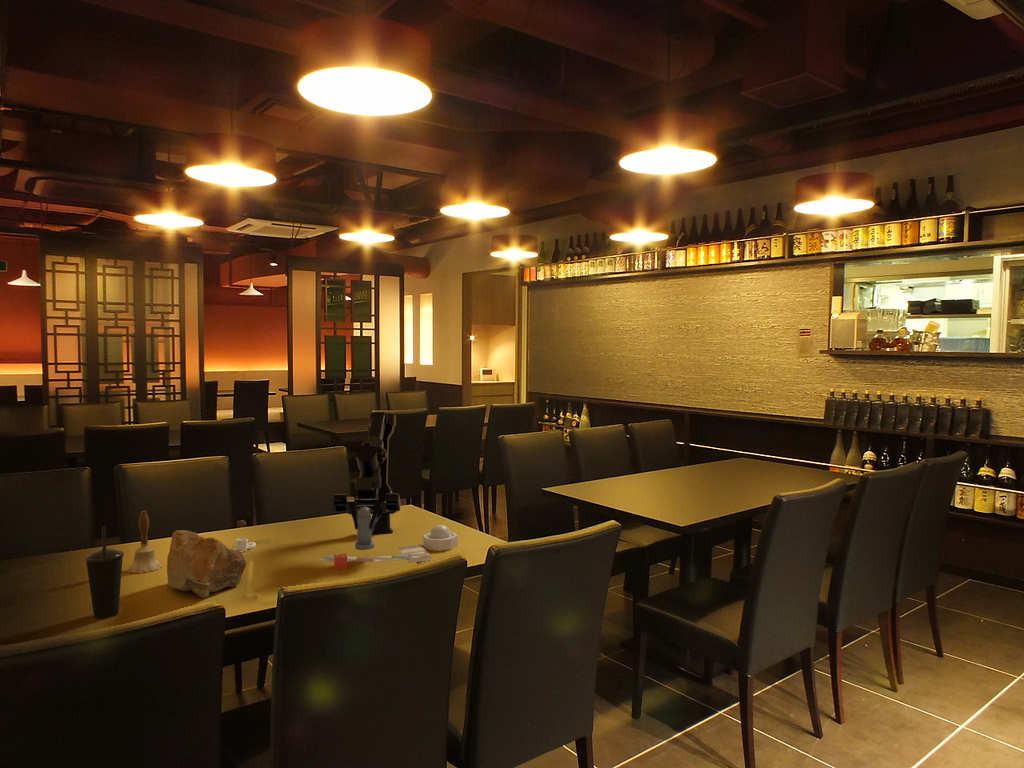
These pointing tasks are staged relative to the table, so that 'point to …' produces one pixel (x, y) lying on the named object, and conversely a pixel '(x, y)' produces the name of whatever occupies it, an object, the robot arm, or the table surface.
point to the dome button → (440, 532)
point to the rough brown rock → (202, 564)
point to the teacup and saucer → (244, 544)
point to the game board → (409, 552)
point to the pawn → (364, 529)
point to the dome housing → (440, 542)
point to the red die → (340, 561)
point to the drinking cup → (105, 579)
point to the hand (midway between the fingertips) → (363, 528)
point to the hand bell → (144, 550)
